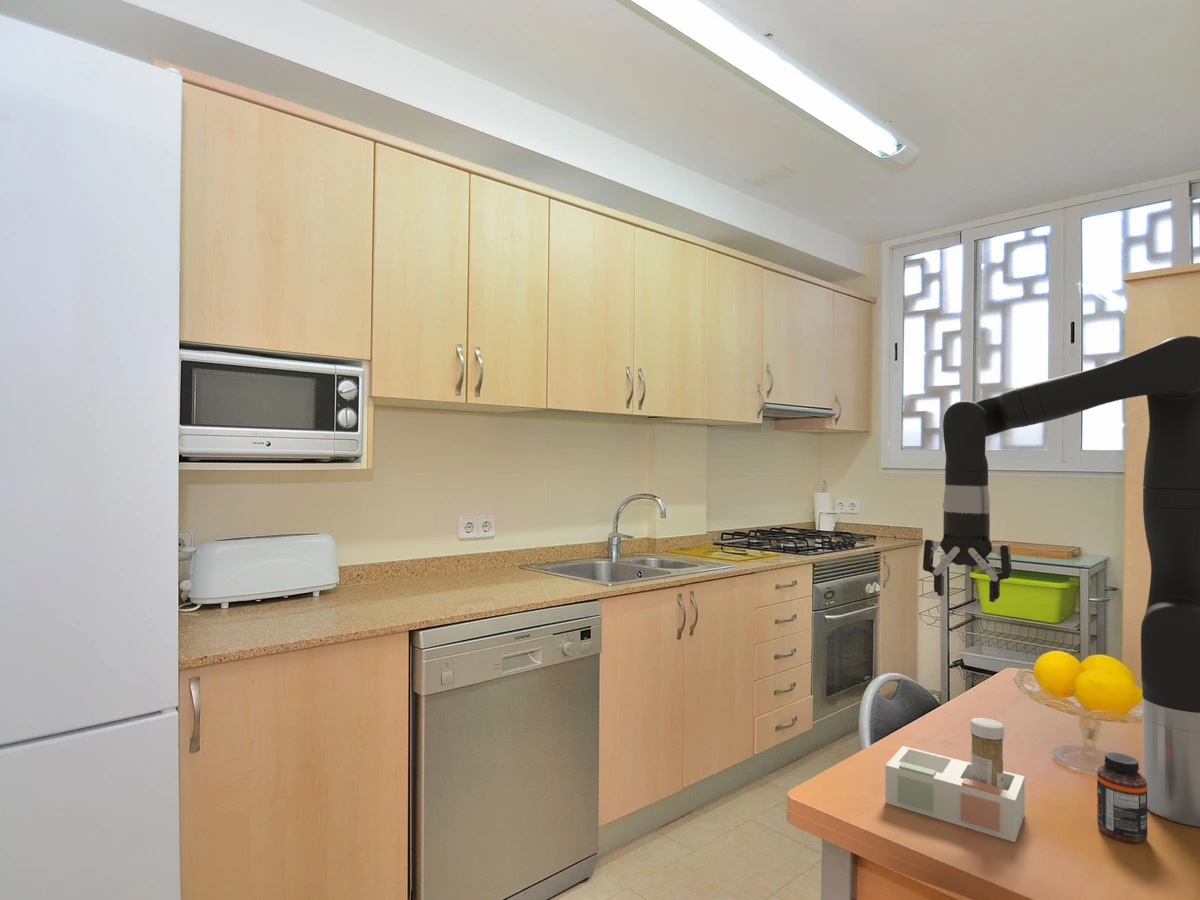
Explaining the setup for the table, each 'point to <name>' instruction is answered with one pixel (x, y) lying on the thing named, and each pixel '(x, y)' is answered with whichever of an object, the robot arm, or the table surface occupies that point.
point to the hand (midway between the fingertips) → (965, 598)
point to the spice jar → (987, 751)
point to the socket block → (954, 793)
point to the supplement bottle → (1122, 799)
